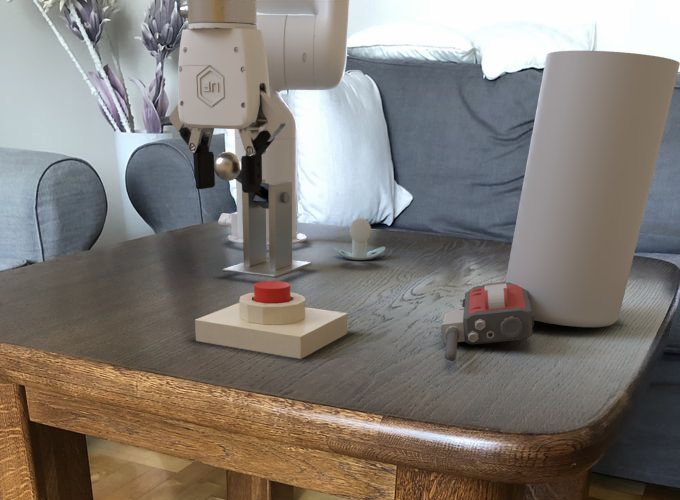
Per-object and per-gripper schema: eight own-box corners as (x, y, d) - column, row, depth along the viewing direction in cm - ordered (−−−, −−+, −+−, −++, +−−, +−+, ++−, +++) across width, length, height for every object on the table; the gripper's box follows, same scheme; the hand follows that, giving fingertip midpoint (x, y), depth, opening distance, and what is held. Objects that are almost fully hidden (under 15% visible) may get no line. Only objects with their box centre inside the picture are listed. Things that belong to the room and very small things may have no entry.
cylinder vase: (612, 335, 82) (679, 55, 72) (490, 315, 86) (537, 47, 76) (621, 316, 93) (680, 70, 83) (511, 300, 97) (555, 63, 87)
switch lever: (229, 175, 95) (234, 147, 94) (206, 174, 96) (211, 146, 96) (280, 213, 107) (285, 188, 106) (259, 211, 108) (264, 186, 108)
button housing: (195, 341, 82) (193, 301, 80) (248, 319, 90) (247, 282, 88) (300, 359, 77) (301, 317, 75) (347, 334, 85) (348, 295, 83)
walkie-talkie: (447, 314, 91) (439, 373, 74) (444, 275, 90) (434, 326, 72) (528, 305, 89) (539, 364, 72) (526, 265, 87) (537, 315, 70)
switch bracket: (275, 284, 105) (274, 187, 99) (222, 278, 108) (219, 182, 103) (311, 271, 113) (312, 179, 107) (261, 265, 116) (260, 176, 111)
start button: (247, 303, 81) (247, 286, 80) (266, 296, 84) (265, 279, 83) (279, 308, 79) (278, 290, 79) (296, 300, 82) (296, 283, 81)
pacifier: (387, 270, 114) (382, 261, 119) (389, 224, 111) (385, 216, 116) (334, 270, 114) (332, 260, 119) (335, 223, 111) (333, 215, 116)
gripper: (138, 14, 90) (151, 188, 99) (272, 10, 83) (274, 198, 91) (178, 19, 96) (187, 182, 104) (307, 16, 89) (306, 191, 97)
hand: (228, 188), depth 98 cm, fingers open, 5 cm apart
